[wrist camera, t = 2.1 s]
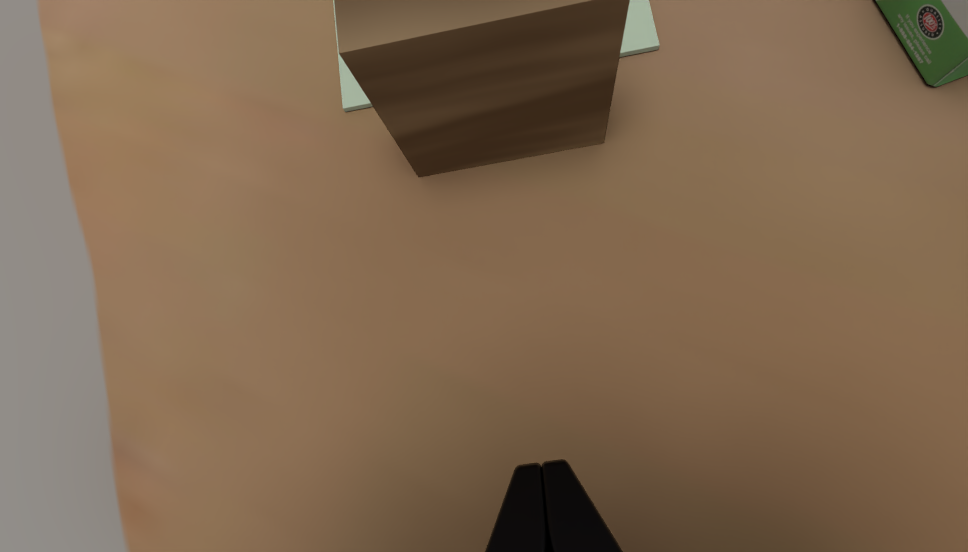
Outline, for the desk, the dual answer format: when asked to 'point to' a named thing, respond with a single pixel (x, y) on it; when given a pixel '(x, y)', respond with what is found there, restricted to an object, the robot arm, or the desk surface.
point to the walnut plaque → (484, 74)
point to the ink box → (932, 35)
